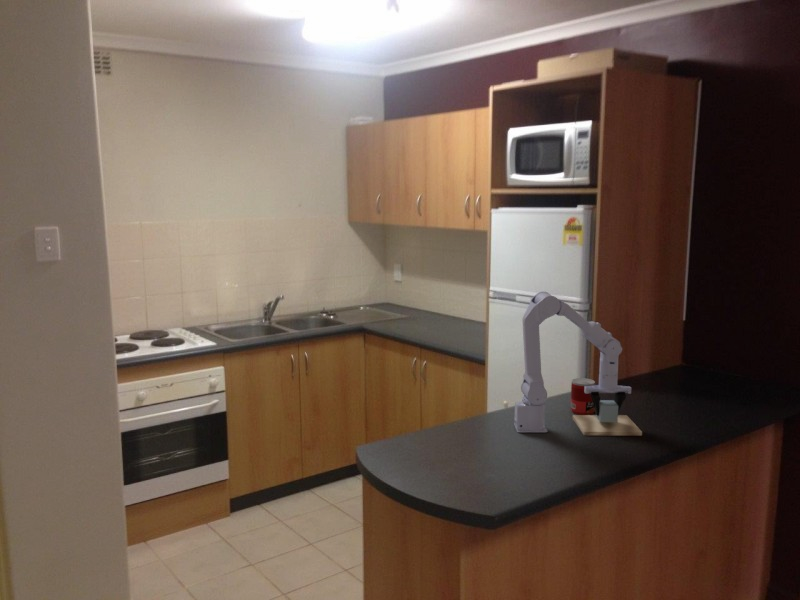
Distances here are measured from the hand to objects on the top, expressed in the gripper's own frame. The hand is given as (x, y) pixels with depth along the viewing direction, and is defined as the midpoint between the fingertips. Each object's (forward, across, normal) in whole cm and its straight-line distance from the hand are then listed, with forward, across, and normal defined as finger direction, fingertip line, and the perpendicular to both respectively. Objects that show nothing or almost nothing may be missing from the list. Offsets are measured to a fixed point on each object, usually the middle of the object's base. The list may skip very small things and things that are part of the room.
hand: (606, 414), depth 229 cm
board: (+4, 0, 0) cm, 4 cm away
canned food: (+4, -4, +15) cm, 16 cm away
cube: (+2, 0, 0) cm, 2 cm away
